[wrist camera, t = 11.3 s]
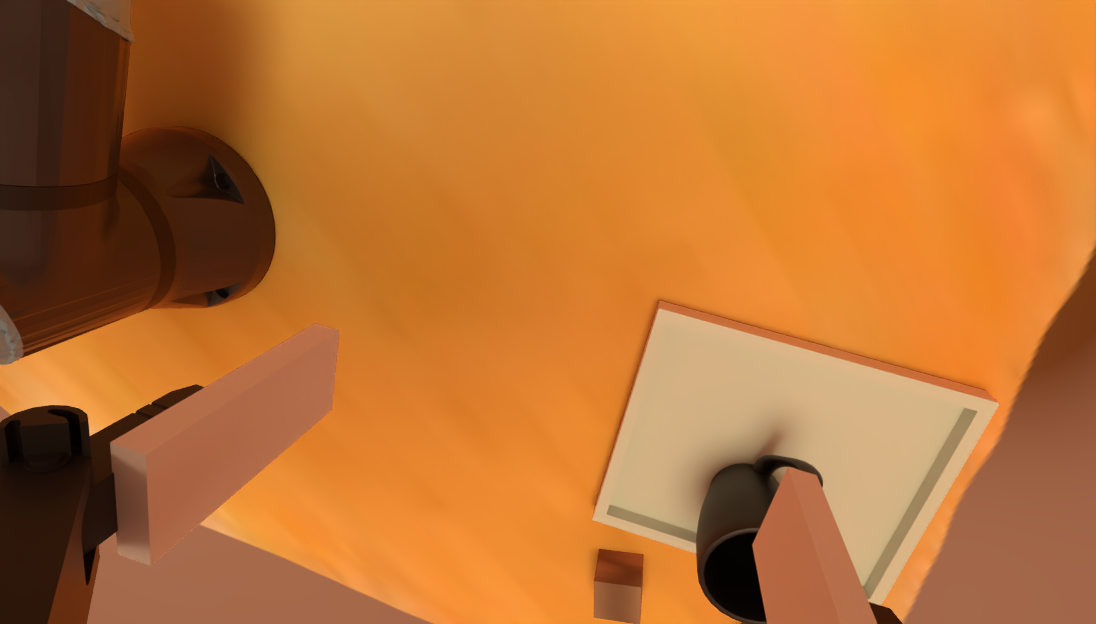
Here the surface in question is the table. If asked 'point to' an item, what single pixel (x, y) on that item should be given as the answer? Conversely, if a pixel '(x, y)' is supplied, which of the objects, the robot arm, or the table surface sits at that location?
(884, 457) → the tray
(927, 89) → the table surface
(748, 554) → the mug
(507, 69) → the table surface
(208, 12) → the table surface
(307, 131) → the table surface
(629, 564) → the walnut cube
